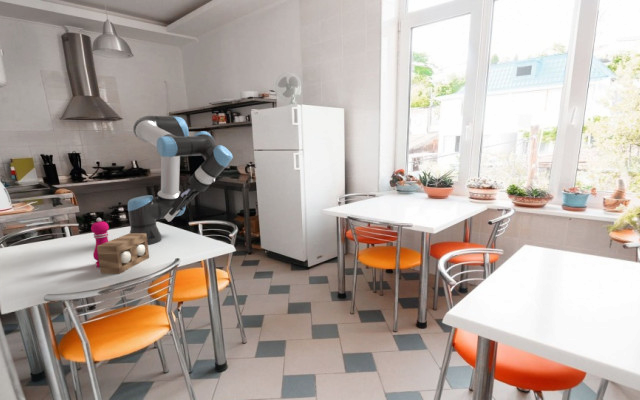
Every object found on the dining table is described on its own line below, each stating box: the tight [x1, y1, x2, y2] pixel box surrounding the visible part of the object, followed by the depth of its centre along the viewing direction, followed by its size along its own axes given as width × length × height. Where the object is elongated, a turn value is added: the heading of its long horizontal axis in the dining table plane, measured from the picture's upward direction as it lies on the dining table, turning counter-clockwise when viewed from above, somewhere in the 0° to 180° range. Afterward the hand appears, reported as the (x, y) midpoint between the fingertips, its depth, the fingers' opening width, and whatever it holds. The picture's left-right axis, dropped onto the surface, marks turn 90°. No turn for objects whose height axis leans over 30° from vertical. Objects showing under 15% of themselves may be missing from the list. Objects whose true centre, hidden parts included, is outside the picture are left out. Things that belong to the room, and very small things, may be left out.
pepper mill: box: [90, 217, 110, 268], centre depth 133 cm, size 7×7×20 cm
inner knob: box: [136, 245, 145, 256], centre depth 137 cm, size 5×8×5 cm, turn 84°
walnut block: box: [97, 232, 150, 275], centre depth 133 cm, size 18×8×11 cm, turn 174°
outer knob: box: [120, 251, 131, 263], centre depth 128 cm, size 5×8×5 cm, turn 84°
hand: (167, 219), depth 134 cm, fingers closed
